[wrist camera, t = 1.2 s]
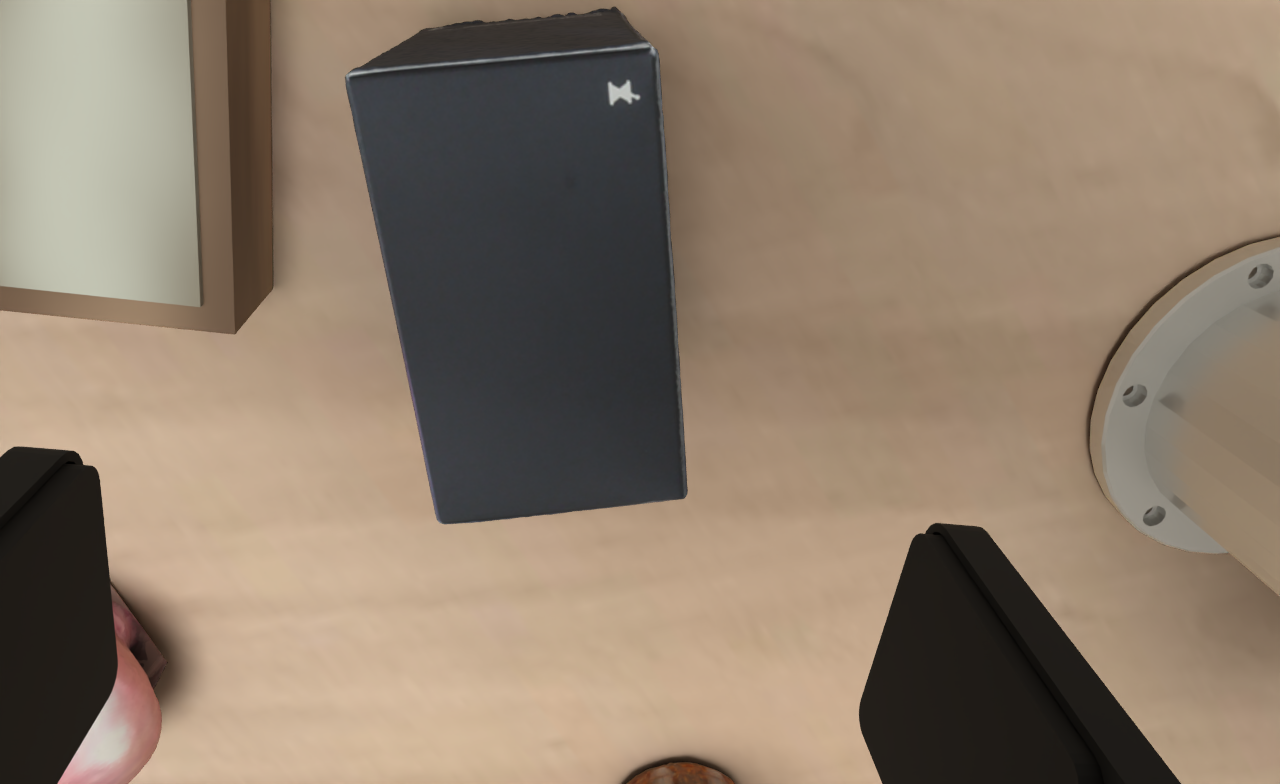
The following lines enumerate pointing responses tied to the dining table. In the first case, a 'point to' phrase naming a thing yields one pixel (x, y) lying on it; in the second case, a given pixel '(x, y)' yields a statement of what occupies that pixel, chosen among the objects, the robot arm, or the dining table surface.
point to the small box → (529, 261)
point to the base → (136, 160)
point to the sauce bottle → (681, 775)
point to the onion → (123, 710)
